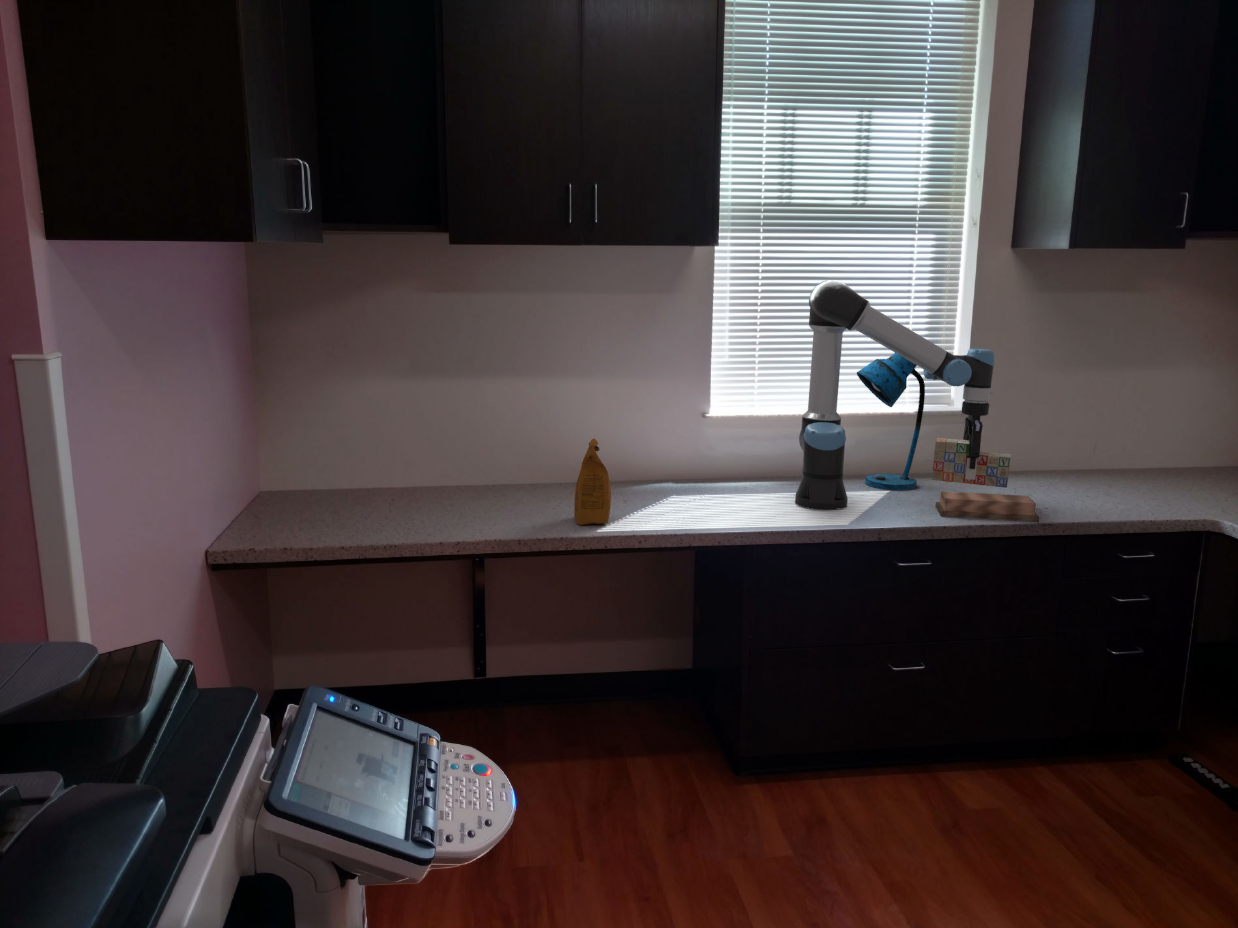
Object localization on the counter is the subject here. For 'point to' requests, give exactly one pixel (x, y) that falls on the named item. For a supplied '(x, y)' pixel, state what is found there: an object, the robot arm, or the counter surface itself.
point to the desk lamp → (888, 386)
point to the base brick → (987, 506)
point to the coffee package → (592, 489)
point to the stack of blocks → (954, 463)
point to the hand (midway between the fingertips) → (967, 476)
